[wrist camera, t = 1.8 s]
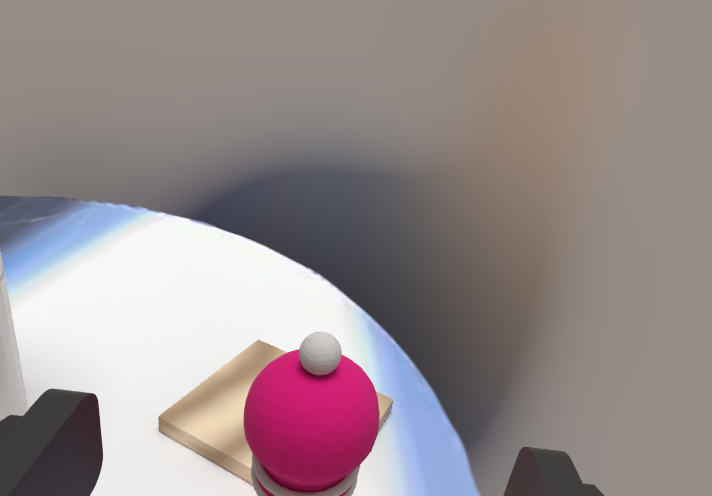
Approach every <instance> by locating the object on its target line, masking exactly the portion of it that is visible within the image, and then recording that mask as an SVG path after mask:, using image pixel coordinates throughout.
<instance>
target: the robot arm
mask: <svg viewBox="0 0 712 496" xmlns="http://www.w3.org/2000/svg"><path fill="white" fill-rule="evenodd" d="M102 461H103V448H102V438H101V427H100V416H99V405H98V399H97V397H96V395H95V394H93V393H85V392H76V391H68V390H60V389H49V390H47V391H46V392H44V393H43V394H42V395H41V396H40V397H39V398H38V400H37V401H36V402H35V403H34V404H33V405H32V406H31V407H30V409H29V410H28V406H27V400H26V393H25V387H24V381H23V376H22V370H21V364H20V358H19V353H18V347H17V341H16V336H15V330H14V324H13V318H12V313H11V307H10V301H9V295H8V290H7V284H6V278H5V273H4V267H3V263H2V257H1V251H0V496H90V494H91V493H92V491H93V489H94V487H95V485H96V483H97V480H98V477H99V474H100V471H101V467H102ZM504 496H604V495H603V494H602V493H601V492H600V491H599V490H598V489H597V487H596V486H595V485H590V484H583V483H582V481H581V479H580V477H579V475H578V473H577V471H576V469H575V467H574V465H573V462H572V460H571V459H570V457H569V456H568V454H567V453H565V452H563V451H556V450H548V449H539V448H530V447H523V448H522V449H521V450H520V452H519V454H518V457H517V459H516V462H515V465H514V468H513V470H512V474H511V476H510V479H509V482H508V485H507V487H506V490H505V493H504Z"/></svg>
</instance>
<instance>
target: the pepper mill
mask: <svg viewBox="0 0 712 496" xmlns="http://www.w3.org/2000/svg"><path fill="white" fill-rule="evenodd" d="M341 354H342V353H341V346H340V344H339V342H338V341H337V339H336V338H335V337H333V336H332V335H331V334H328V333H325V332H316V333H313V334H311V335H309V336H308V337H306V338H305V340H304V341H303V342H302V344H301V346H300V349H299V350H295V351H291V352H288V353H286V354H283V355H281V356H280V357H278V358H276V359H275V360H273V361H272V362H270V363H269V364H268V365H267V366H266V367H265V368H264V369H263V370H262V371H261V372H260V373H259V374H258V375H257V377H256V378H255V380H254V381H253V383H252V385H251V387H250V389H249V392H248V395H247V398H246V402H245V407H244V423H243V426H244V432H245V438H246V440H247V443H248V445H249V447H250V449H251V451H252V466H251V478H252V483H253V486H254V489H255V491H256V493H257V495H258V496H351V495H352V494H353V492H354V489H355V487H356V483H357V475H358V472H359V468H360V464H361V463H362V462H363V461H364V459H365V458H366V457H367V456H368V454H369V453H370V452H371V450H372V447H373V445H374V442H375V440H376V437H377V433H378V428H379V418H380V412H379V404H378V396H377V394H376V391H375V388H374V386H373V383H372V382H371V380H370V379H369V377H368V376H367V374H366V373H365V372H364V371H363V369H362V368H361V367H360V366H358V365H357V364H356V363H354V362H353V361H352V360H350V359H349V358H347V357H345V356H343V355H341Z"/></svg>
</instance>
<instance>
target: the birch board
mask: <svg viewBox="0 0 712 496" xmlns="http://www.w3.org/2000/svg"><path fill="white" fill-rule="evenodd" d="M286 353H287V352H285V351H283V350H280V349H278V348H276V347H274V346H271V345H269V344H267V343H265V342H262V341H260V340H257V341H256V342H255V343H253V344H252V345H251V346H249V347H248V348H247V349H246V350H244V351H243V352H242V353H240V354H239V355H238V356H236V357H235V358H234V359H233V360H231V361H230V362H229V363H227V364H226V365H225V366H223V367H222V368H221V369H220V370H218V371H217V372H216V373H214V374H213V375H212V376H211V377H209V378H208V379H207V380H205V381H204V382H203V383H201V384H200V385H199V386H198V387H196V388H195V389H194V390H192V391H191V392H190V393H188V394H187V395H186V396H185V397H183V398H182V399H181V400H179V401H178V402H177V403H175V404H174V405H173V406H172V407H170V408H169V409H168V410H166V411H165V412H164V413H163V414H161V415H160V416H159V431H160V432H162V433H164V434H165V435H167V436H169V437H171V438H172V439H174V440H176V441H178V442H179V443H181V444H183V445H185V446H186V447H188V448H190V449H192V450H193V451H195V452H197V453H199V454H200V455H202V456H204V457H206V458H207V459H209V460H211V461H212V462H214V463H216V464H218V465H219V466H221V467H223V468H225V469H226V470H228V471H230V472H232V473H233V474H235V475H237V476H239V477H240V478H242V479H244V480H246V481H247V482H249V483H251V484H253V483H252V478H251V466H252V451H251V449H250V447H249V445H248V443H247V440H246V438H245V432H244V426H243V423H244V407H245V402H246V398H247V395H248V392H249V389H250V387H251V385H252V383H253V381H254V380H255V378H256V377H257V375H258V374H259V373H260V372H261V371H262V370H263V369H264V368H265V367H266V366H267V365H268V364H269V363H270V362H272V361H273V360H275V359H276V358H278V357H280V356H281V355H283V354H286ZM376 394H377V396H378V404H379V412H380V418H379V428H378V431H379V430H380V428H381V426H382V425H383V423H384V422H385V420H386V419H387V417H388V416H389V414H390V413H391V408H392V404H393V399H391V398H389V397H386V396H384V395H382V394H380V393H377V392H376Z"/></svg>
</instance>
